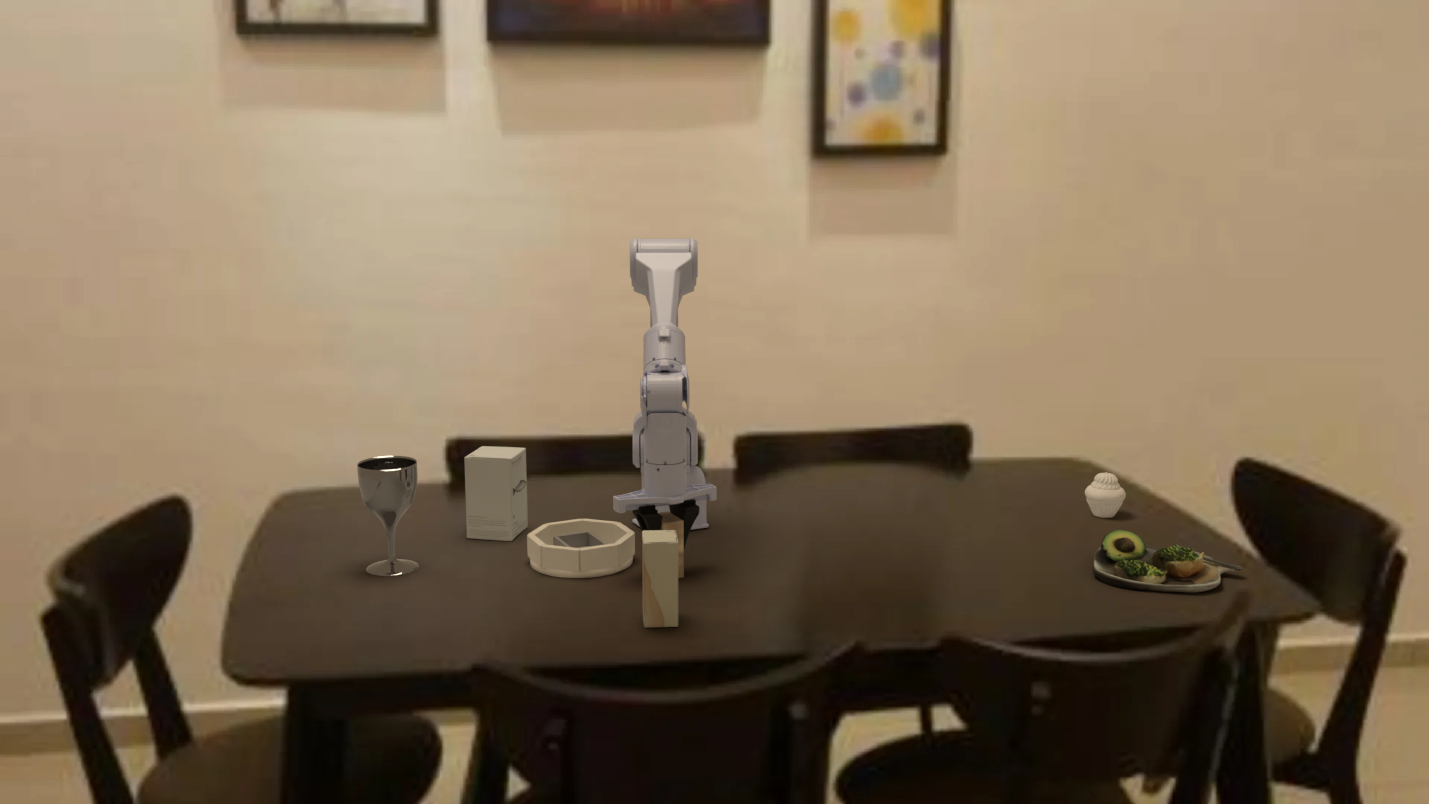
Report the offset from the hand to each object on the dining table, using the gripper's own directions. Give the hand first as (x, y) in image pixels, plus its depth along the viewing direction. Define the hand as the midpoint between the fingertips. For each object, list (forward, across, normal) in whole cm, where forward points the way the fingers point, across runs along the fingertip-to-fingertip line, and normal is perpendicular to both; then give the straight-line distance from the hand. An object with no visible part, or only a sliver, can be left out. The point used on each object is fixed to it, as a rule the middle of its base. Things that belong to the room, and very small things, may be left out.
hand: (665, 556), depth 188 cm
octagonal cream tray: (+2, -8, +10) cm, 13 cm away
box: (+3, -8, -16) cm, 18 cm away
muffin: (+3, +73, -5) cm, 73 cm away
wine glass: (+3, -33, +19) cm, 38 cm away
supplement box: (+3, -15, +28) cm, 32 cm away
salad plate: (+3, +60, -29) cm, 67 cm away
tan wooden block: (+2, 0, 0) cm, 2 cm away
